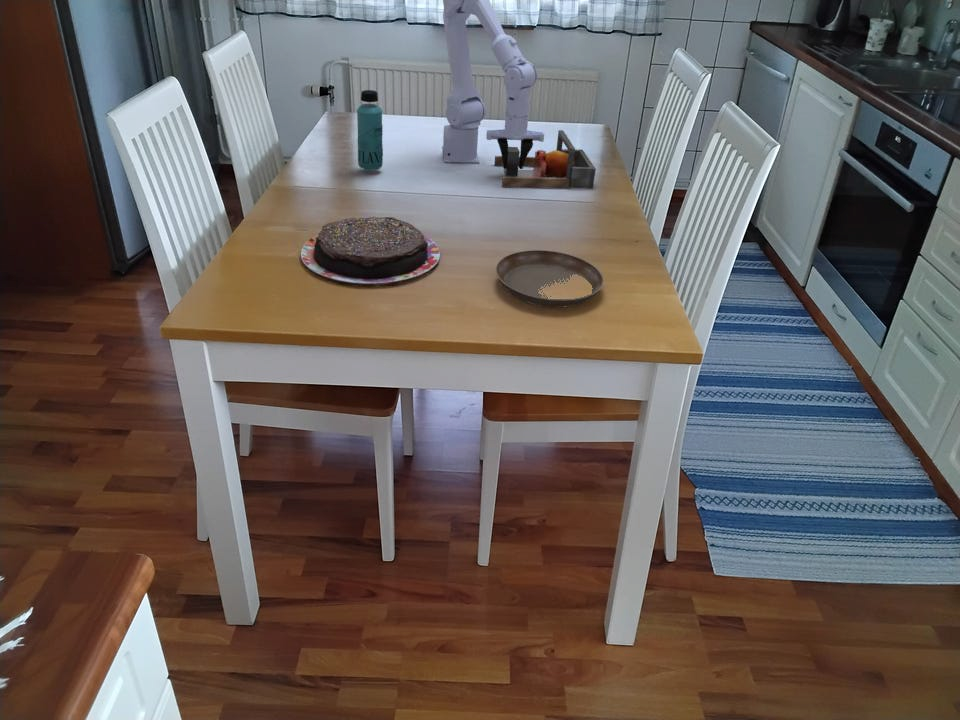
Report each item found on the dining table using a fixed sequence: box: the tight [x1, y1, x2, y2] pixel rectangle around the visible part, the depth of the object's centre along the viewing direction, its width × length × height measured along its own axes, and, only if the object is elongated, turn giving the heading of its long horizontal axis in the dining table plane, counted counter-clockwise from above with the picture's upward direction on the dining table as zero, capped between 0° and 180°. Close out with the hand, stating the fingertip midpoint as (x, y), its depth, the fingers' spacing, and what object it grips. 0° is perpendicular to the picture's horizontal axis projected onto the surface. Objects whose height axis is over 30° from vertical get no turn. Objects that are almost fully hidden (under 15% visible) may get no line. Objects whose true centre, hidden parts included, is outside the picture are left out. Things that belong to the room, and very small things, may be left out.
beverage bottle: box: [356, 89, 384, 171], centre depth 187 cm, size 6×7×20 cm
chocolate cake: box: [300, 216, 441, 288], centre depth 150 cm, size 28×28×7 cm
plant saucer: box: [495, 249, 605, 308], centre depth 144 cm, size 21×21×3 cm
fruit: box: [544, 150, 574, 178], centre depth 196 cm, size 8×8×8 cm
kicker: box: [503, 146, 547, 178], centre depth 195 cm, size 10×10×7 cm
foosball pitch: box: [493, 129, 597, 189], centre depth 195 cm, size 24×17×10 cm
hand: (512, 167), depth 195 cm, fingers open, 4 cm apart
